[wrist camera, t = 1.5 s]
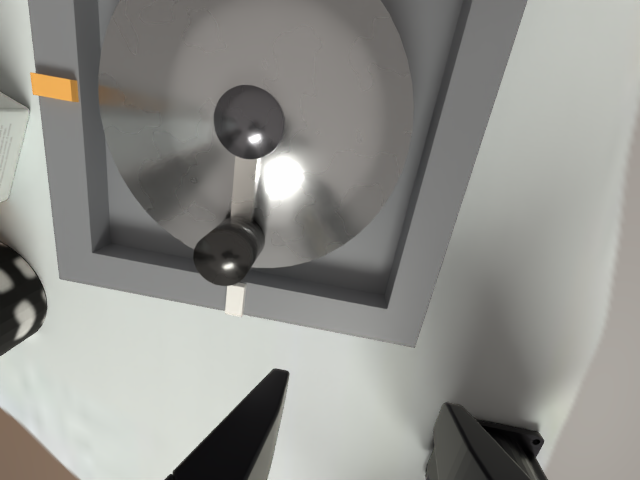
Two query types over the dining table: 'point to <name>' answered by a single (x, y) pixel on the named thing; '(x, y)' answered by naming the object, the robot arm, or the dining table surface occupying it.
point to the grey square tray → (306, 278)
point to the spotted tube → (18, 300)
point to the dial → (256, 123)
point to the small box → (10, 140)
